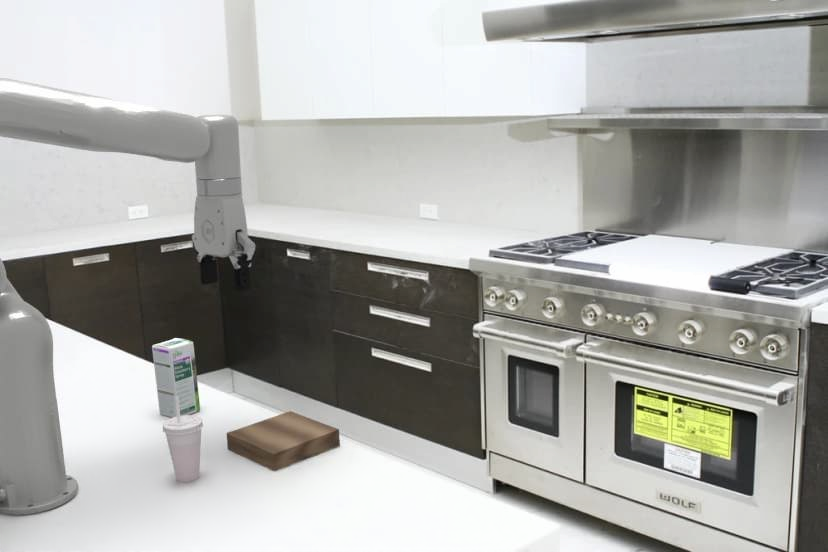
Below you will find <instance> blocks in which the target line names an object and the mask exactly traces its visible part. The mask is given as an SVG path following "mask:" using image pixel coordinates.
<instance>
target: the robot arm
mask: <svg viewBox="0 0 828 552" xmlns="http://www.w3.org/2000/svg"><path fill="white" fill-rule="evenodd" d="M0 137H2V138H8V139H14V140H21V141H26V142H32V143H40V144H46V145H49V146H50V145H52V146H58V147H64V148H70V149H76V150H82V151H88V152H99V153H119V154H120V153H121V154H129V155H137V156H143V157H150V158H156V159H158V160H161V161H165V162H177V163H184V164H189V163H194V166H195V167H194V170H195V185H196V197H195V203H194V214H193V215H194V216H193V219H194V220H193V232H194V233H192V235H191V240H192V243H193V246H194V252H196V254H197V257H196V258H197V259H196V260H197V262H198V263H199V275H200V276H199V277H200V284H201V285H209V284H210V285H211V284H214V283H217V282H218V280H219V279H218V268H217V267H218V266H217V265H218V262H217V259H215V257H218V258H227V257H228V258H229V259H230V262H231V264H232V265H233V268H231V278H232V291H233V292H235V293H239V292H244V291H249V290H250V289H251V277H250V274H251V273H250V268H251V267H252V261H253V260H254V254H255V250H256V244H255V242H254V241H252V239H251V238H250V237H249V236H248V235H249V234H248V233H249V232H248V224H247V217H246V209H245V204H244V199H243V187H242V186H243V185H242V169H241V153H240V151H241V150H240V134H239V123H238V120H237V118H236V117H235V116H233V115H229V114H206V115H199V116H194V115H190V114H187V113H181V112H177V111H171V110H165V109H161V108H155V107H150V106H145V105H139V104H134V103H129V102H124V101H123V102H122V101H120V100H115V99H112V98H108V97H107V98H106V97H103V96H98V95H93V94H87V93H82V92H77V91H72V90H67V89H62V88H57V87H52V86H47V85H41V84H38V83H37V84H36V83H33V82H27V81H21V80H17V79H11V78H5V77H0ZM238 257H239V258H238ZM7 277H8V276H7V271H6V268H5V264H4V262H3V260H2V259H1V258H0V513H1V514H4V515H9V516H10V515H11V516H13V515H15V516H17V515H18V516H20V515H21V516H22V515H31V514H36V513H41V512H45V511H49V510H51V509H55V508H57V507H59V506H61V505H64V504H66V503H67V502H69V501H70V500H71V499H73V498H74V497H75V496H76V494H78V492H79V483H78V480H77V479H76V478H75V477H73V476H71V475H68V474H67V473H66V464H65V463H66V462H65V454H64V447H63V446H64V445H63V438H62V431H61V423H60V417H59V416H60V414H59V408H58V399H57V398H58V397H57V392H56V391H57V390H56V385H55V374H54V373H55V372H54V338H53V334H52V333H53V332H52V328H51V327H50V324H49V322H48V320H47V318H46V317H45V315H44V314H43V313H42V312H41V311H40V310H38V309H37V308H36V307H34V306H33V305H31V304H30V303H28V302H27V301H25V300H24V299H23V298H22V297H21V295H20V294H19V293H18V291H17V290H16V288H15V287H14V286H13V284H12V283H11V282H10V280H9V278H7Z"/></svg>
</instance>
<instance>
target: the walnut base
mask: <svg viewBox="0 0 828 552" xmlns="http://www.w3.org/2000/svg"><path fill="white" fill-rule="evenodd" d="M226 441H227V450H228V451H231V452H234V453H236V454H237V455H240V456H241V457H245V458H247V459H248V460H251V461H253V462H255V463H258V464H259V465H261V466H264V467H266V468H268V469H270V470H273V471H274V472H276V471H279V470H281V469H284V468H286V467H289V466H292V465H294V464H297V463H299V462H301V461H303V460H306V459H309V458H311V457H314V456H317V455H319V454H322V453H324V452H327V451H329V450H332V449H335V448H336V447H339V446H340V445H341V444H340V443H341V442H340V441H341V439H340V429H339V428H336V427H333V426H331V425H328V424H327V423H326V424H325V423H324V422H320V421H318V420H315V419H314V418H313V419H312V418H310V417H308V416H305V415H301V414H299V413H296V412H294V411H291V410H290V411H285V412H284V413H281V414H279V415H275V416H272V417H269V418H266V419H263V420H261V421H258V422H255V423H252V424H249V425H246V426H243V427H240V428H237V429H234V430H231V431H229V432H226Z"/></svg>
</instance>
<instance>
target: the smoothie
mask: <svg viewBox="0 0 828 552" xmlns="http://www.w3.org/2000/svg"><path fill="white" fill-rule="evenodd" d="M175 403H176V413H177V417H173V418H170V417H169V419H166V420H165V421H164V422H163V423H162V432H163V433H164V434H165V438H166V441H167V447H168V450H169V454H170V459H171V462H172V466H173V471H174V475H175V480H176V481H177V482H178V483H191V482H194V481H196V480H198V479H199V478H200V473H201V472H200V471H201V469H200V467H201V443H202V429H203V427H204V423H203V418H202V417H200V416H198V415H192V414H190V415H183V416H180V407H179V397H175Z"/></svg>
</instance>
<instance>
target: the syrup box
mask: <svg viewBox="0 0 828 552" xmlns="http://www.w3.org/2000/svg"><path fill="white" fill-rule="evenodd" d="M151 349H152V358H153V366H154V374H155V375H154V376H155V385H156V393H157V402H158V409H159V414H160V415H162V416H164V417H167V416H168V417H167V418H170V417H172V418H173V417H177V413H176V403H175V397H179V407H180V416H183V415H192V414H195V413H198V412H200V411H201V403H200V396H199V395H200V393H199V386H198V385H199V384H198V375H197V365H196V355H195V346H194V342H193V341H192V340H189V339H185V338H178V337H174V338H172V339H170V340H166V341H162V342H160V343H156V344H153V345H152V346H151Z"/></svg>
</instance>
